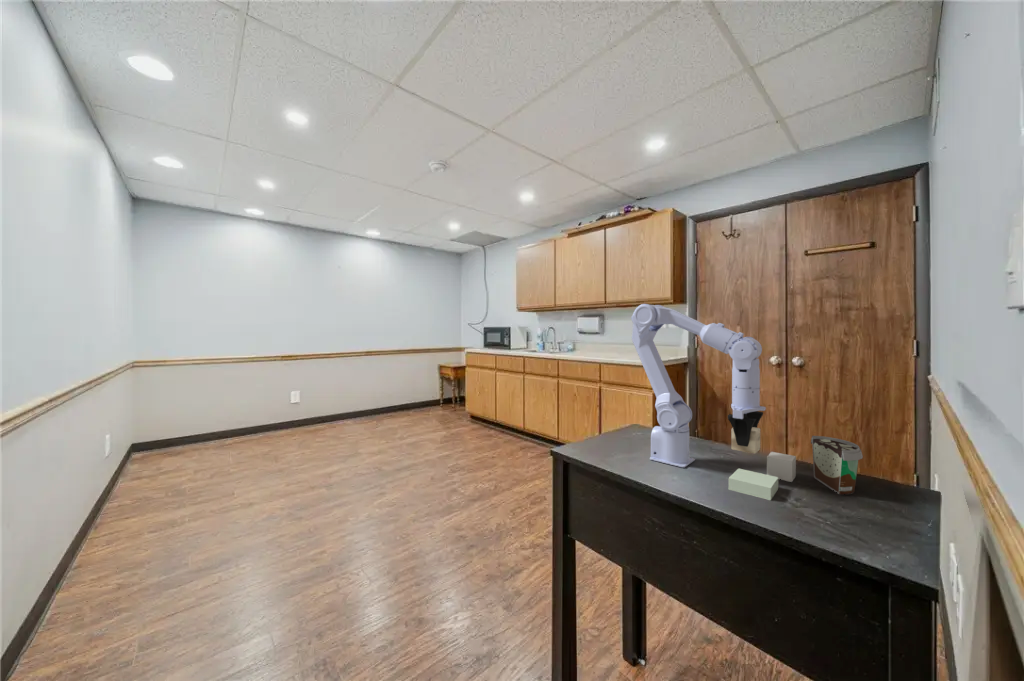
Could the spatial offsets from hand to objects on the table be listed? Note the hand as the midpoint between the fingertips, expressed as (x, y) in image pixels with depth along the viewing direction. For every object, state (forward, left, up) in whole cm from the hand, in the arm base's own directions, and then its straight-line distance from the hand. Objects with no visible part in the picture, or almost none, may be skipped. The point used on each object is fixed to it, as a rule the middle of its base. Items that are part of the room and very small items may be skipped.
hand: (745, 442), depth 92 cm
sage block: (+3, -6, -9) cm, 11 cm away
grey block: (+6, +7, -9) cm, 12 cm away
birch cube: (0, 0, -2) cm, 2 cm away
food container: (+17, +9, -9) cm, 21 cm away
